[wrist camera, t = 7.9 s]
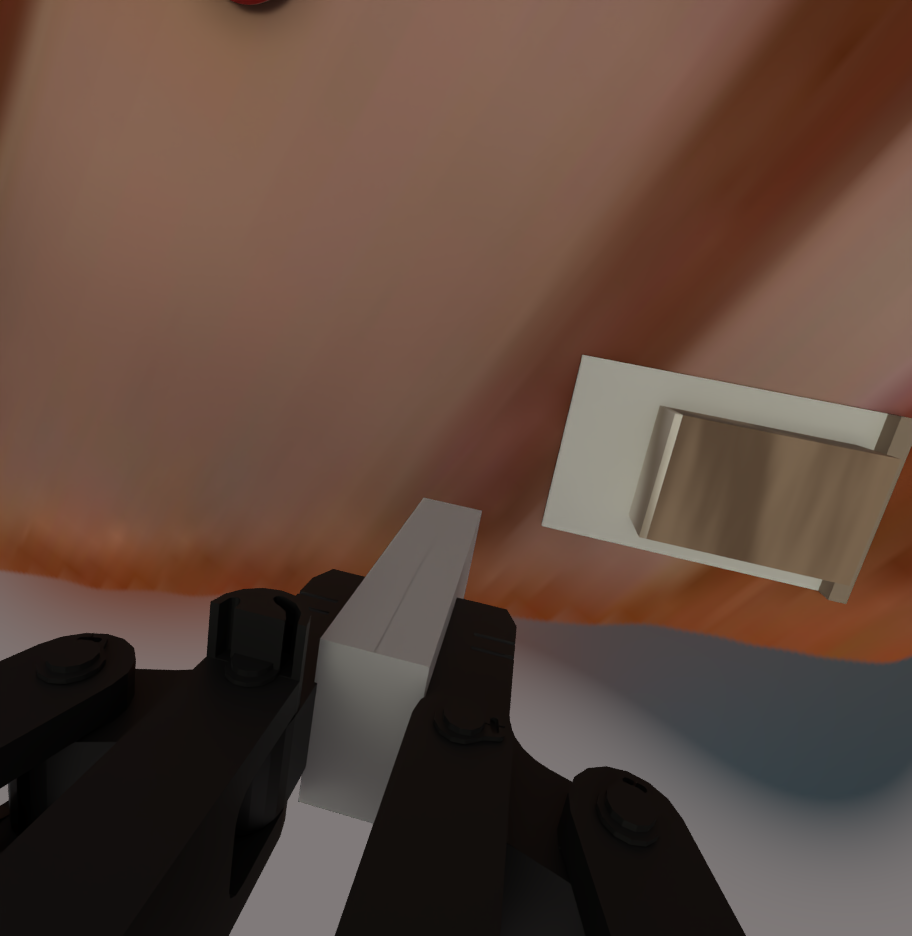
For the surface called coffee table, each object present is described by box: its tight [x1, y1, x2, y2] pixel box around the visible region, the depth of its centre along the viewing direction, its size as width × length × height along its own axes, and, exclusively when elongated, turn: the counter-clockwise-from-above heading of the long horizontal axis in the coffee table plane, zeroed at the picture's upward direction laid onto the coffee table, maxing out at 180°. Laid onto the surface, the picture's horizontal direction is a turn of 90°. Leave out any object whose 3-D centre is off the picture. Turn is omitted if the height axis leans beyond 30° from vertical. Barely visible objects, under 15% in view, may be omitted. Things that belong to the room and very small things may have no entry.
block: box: [629, 405, 901, 586], centre depth 30 cm, size 4×7×11 cm
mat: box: [542, 355, 912, 604], centre depth 32 cm, size 18×11×2 cm, turn 79°
